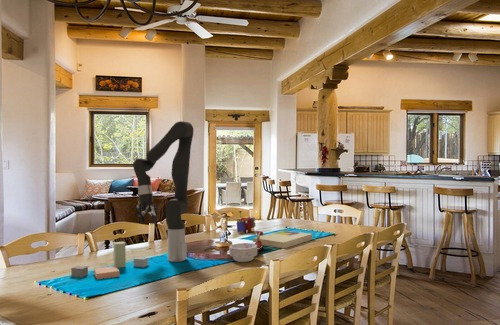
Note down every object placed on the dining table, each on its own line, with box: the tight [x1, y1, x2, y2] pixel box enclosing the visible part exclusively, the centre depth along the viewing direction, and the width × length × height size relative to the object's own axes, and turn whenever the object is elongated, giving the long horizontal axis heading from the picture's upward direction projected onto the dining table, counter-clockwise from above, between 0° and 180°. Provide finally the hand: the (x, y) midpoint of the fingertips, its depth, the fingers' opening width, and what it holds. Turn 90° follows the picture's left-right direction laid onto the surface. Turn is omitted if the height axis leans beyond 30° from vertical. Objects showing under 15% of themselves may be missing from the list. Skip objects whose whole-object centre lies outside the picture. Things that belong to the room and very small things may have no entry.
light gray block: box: [133, 256, 149, 268], centre depth 212 cm, size 6×4×4 cm, turn 73°
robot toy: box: [236, 210, 257, 234], centre depth 309 cm, size 17×9×20 cm
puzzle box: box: [252, 230, 313, 249], centre depth 272 cm, size 36×5×24 cm
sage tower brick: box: [113, 241, 127, 269], centre depth 211 cm, size 5×5×12 cm
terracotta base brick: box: [93, 265, 120, 280], centre depth 195 cm, size 10×10×3 cm
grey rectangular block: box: [70, 265, 89, 278], centre depth 195 cm, size 6×4×4 cm, turn 73°
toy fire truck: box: [255, 231, 264, 248], centre depth 252 cm, size 3×14×10 cm, turn 168°
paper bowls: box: [228, 242, 258, 263], centre depth 223 cm, size 15×15×8 cm
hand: (148, 223), depth 224 cm, fingers open, 8 cm apart
